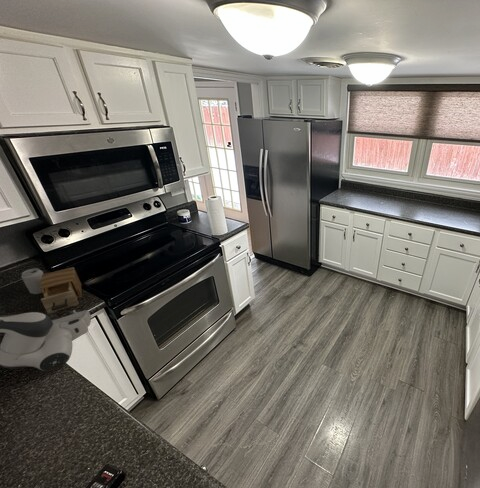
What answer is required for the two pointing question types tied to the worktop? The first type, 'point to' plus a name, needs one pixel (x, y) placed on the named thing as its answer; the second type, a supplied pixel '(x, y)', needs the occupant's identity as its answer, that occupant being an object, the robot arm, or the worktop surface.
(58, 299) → the drawer
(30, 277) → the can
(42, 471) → the worktop surface
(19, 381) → the worktop surface
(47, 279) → the storage box
